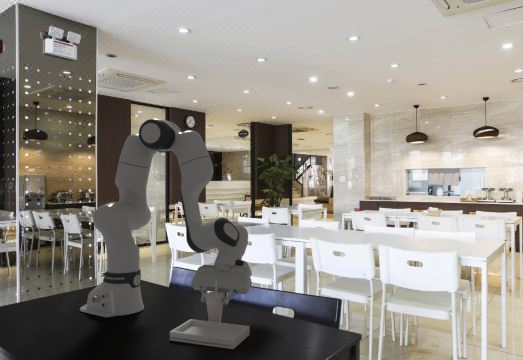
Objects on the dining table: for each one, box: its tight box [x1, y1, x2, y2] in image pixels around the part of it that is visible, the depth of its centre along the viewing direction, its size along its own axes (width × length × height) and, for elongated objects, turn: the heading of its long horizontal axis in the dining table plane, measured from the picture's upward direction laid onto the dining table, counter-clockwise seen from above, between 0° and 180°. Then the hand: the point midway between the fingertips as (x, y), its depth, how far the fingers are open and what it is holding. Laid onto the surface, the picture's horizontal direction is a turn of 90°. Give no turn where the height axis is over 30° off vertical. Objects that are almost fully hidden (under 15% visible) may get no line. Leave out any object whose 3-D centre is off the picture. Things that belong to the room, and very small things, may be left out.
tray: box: [169, 318, 251, 350], centre depth 123 cm, size 20×12×2 cm, turn 70°
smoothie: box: [205, 280, 226, 323], centre depth 134 cm, size 6×6×14 cm
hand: (213, 302), depth 134 cm, fingers closed on smoothie, 6 cm apart
